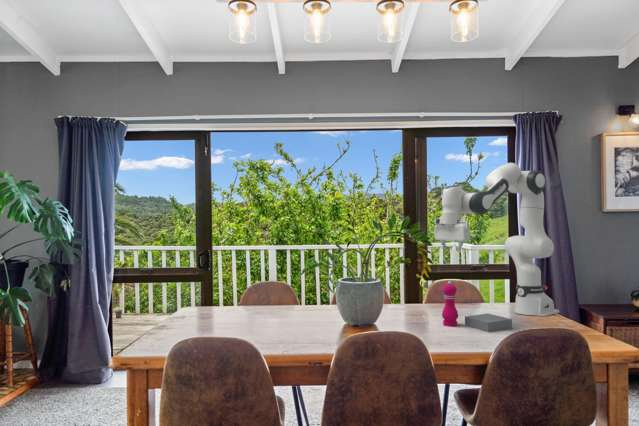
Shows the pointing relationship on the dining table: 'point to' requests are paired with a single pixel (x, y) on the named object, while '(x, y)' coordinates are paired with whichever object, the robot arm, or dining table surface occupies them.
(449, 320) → the pepper mill
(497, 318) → the riser
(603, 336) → the dining table surface
